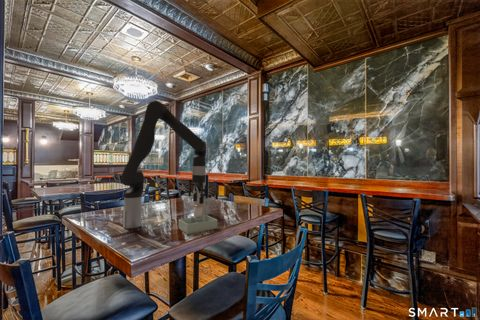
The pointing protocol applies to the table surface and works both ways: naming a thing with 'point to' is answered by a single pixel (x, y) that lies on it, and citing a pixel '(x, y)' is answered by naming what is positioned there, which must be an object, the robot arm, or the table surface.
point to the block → (197, 219)
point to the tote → (197, 225)
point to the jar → (198, 211)
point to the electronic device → (205, 197)
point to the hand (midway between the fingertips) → (198, 202)
